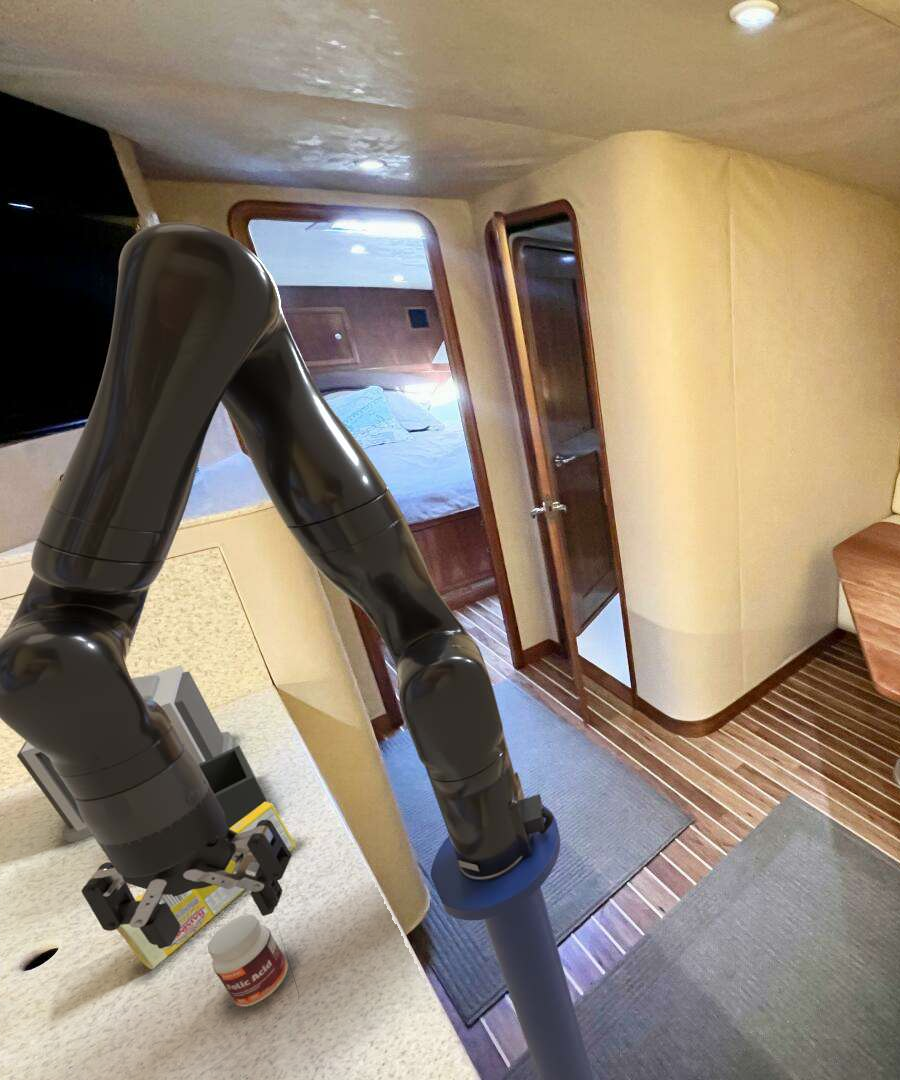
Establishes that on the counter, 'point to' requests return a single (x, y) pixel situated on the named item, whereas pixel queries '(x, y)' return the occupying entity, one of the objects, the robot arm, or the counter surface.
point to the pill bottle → (247, 960)
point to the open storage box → (233, 784)
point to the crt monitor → (186, 716)
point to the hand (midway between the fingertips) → (222, 922)
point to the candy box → (200, 897)
